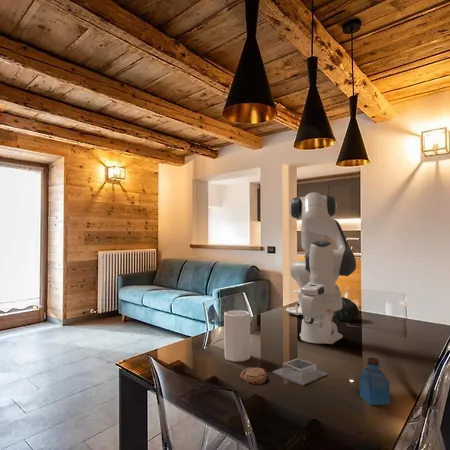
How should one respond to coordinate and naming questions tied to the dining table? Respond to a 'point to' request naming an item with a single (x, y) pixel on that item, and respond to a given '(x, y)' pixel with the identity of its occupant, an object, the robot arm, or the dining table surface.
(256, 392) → the dining table surface
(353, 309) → the squash
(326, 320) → the white lidded jar
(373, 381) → the perfume bottle
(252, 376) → the cookie
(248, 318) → the cup
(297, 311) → the candlestick
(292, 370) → the duct collar
